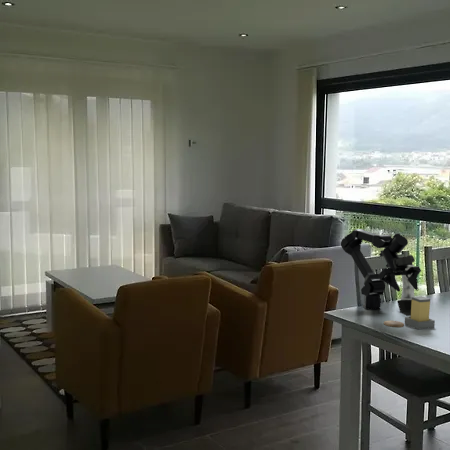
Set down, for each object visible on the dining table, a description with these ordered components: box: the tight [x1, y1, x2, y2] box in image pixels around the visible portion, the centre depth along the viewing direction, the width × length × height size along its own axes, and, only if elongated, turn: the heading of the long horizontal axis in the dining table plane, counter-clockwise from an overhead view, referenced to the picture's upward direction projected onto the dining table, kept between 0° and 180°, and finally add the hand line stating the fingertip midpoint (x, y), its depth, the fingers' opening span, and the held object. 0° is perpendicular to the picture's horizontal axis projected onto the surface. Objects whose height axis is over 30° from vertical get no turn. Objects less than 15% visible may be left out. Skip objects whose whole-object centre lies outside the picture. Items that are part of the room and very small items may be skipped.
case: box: [404, 316, 436, 330], centre depth 249 cm, size 17×8×4 cm, turn 23°
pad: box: [383, 320, 405, 328], centre depth 246 cm, size 8×8×1 cm
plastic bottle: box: [400, 263, 415, 300], centre depth 275 cm, size 6×7×20 cm
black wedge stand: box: [397, 299, 412, 317], centre depth 265 cm, size 12×7×10 cm
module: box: [411, 296, 431, 322], centre depth 244 cm, size 5×5×12 cm
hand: (408, 290), depth 251 cm, fingers open, 9 cm apart
